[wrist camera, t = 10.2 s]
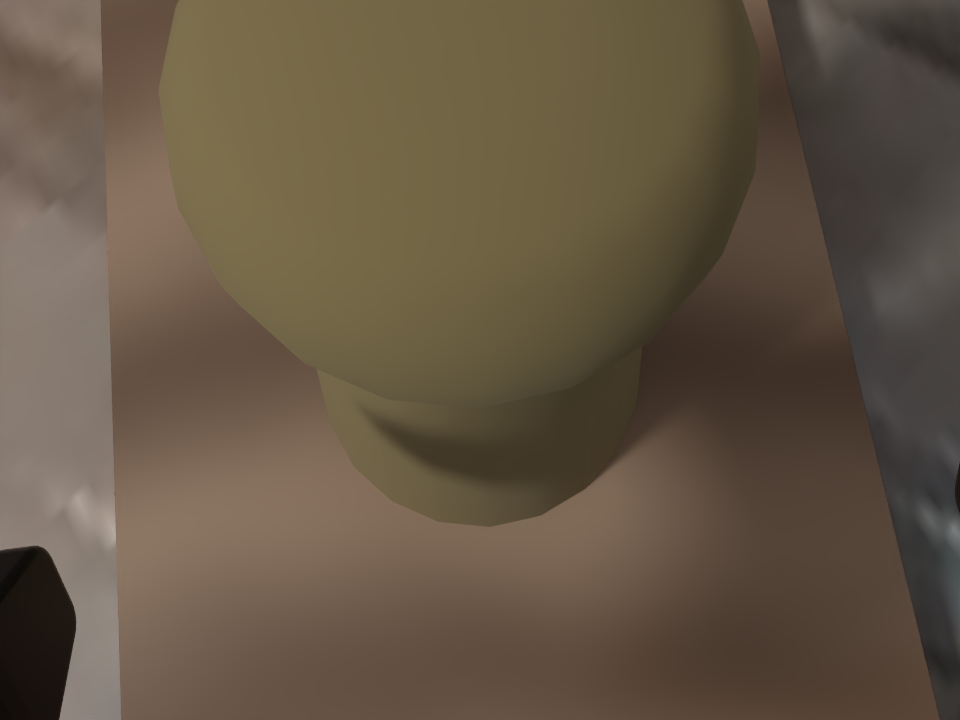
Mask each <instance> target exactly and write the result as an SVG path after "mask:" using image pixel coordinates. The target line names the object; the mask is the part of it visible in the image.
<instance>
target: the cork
mask: <svg viewBox="0 0 960 720" xmlns="http://www.w3.org/2000/svg"><path fill="white" fill-rule="evenodd" d="M759 69H760V51H759V48H758V45H757V42H756V39H755V36H754V33H753V30H752V27H751V24H750V21H749V18H748V15H747V12H746V9H745V6H744V3H743V0H178V3H177V5H176V7H175V12H174V17H173V21H172V26H171V31H170V36H169V41H168V46H167V50H166V55H165V60H164V65H163V70H162V75H161V79H160V84H159V89H158V91H159V98H160V105H161V112H162V119H163V125H164V132H165V139H166V146H167V153H168V160H169V166H170V173H171V178H172V182H173V187H174V191H175V196H176V200H177V205H178V208H179V210H180V212H181V214H182V216H183V218H184V219H185V221H186V223H187V225H188V227H189V229H190V231H191V232H192V234H193V236H194V238H195V240H196V242H197V243H198V245H199V247H200V249H201V251H202V253H203V255H204V256H205V258H206V260H207V262H208V264H209V266H210V267H211V269H212V271H213V273H214V275H215V277H216V278H217V280H218V282H219V284H220V286H221V287H222V288H223V289H224V290H225V291H226V292H227V293H228V294H229V295H230V296H231V297H232V298H233V299H234V300H235V301H236V302H237V303H238V304H239V305H240V306H241V307H242V308H243V309H244V310H245V311H246V312H248V313H249V314H250V315H251V316H252V317H253V318H254V319H255V320H257V321H258V322H259V323H260V324H261V325H262V326H263V327H264V328H265V329H267V330H268V331H269V332H270V333H271V334H272V335H273V336H274V337H275V338H277V339H278V340H279V341H280V342H281V343H282V344H283V345H284V346H285V347H287V348H288V349H289V350H290V351H291V352H292V353H293V354H294V355H295V356H297V357H298V358H299V359H300V360H301V361H302V362H303V363H304V364H306V365H309V366H311V367H313V368H316V369H317V373H318V377H319V381H320V385H321V389H322V393H323V397H324V401H325V405H326V409H327V413H328V417H329V421H330V424H331V426H332V428H333V430H334V431H335V433H336V435H337V437H338V439H339V440H340V442H341V444H342V446H343V448H344V449H345V451H346V453H347V455H348V457H349V459H350V460H351V462H352V464H353V466H354V467H355V468H356V469H357V470H358V471H359V472H360V473H361V474H362V475H364V476H365V477H366V478H367V479H368V480H369V481H370V482H371V483H372V484H373V485H374V486H376V487H377V488H378V489H379V490H380V491H381V492H382V493H383V494H384V495H385V496H386V497H388V498H389V499H390V500H391V501H392V502H395V503H397V504H399V505H401V506H404V507H406V508H408V509H410V510H413V511H415V512H417V513H419V514H422V515H424V516H426V517H428V518H431V519H433V520H435V521H438V522H444V523H454V524H465V525H475V526H485V527H492V526H497V525H501V524H506V523H510V522H515V521H519V520H524V519H528V518H533V517H537V516H541V515H543V514H544V513H546V512H548V511H549V510H551V509H553V508H554V507H556V506H558V505H559V504H561V503H563V502H564V501H566V500H568V499H569V498H571V497H573V496H574V495H576V494H578V493H579V492H581V491H583V490H584V489H586V487H587V486H588V485H589V484H590V483H591V482H592V480H593V479H594V478H595V477H596V476H597V475H598V473H599V472H600V471H601V470H602V469H603V468H604V466H605V465H606V464H607V463H608V462H609V461H610V459H611V458H612V457H613V456H614V455H615V454H616V452H617V451H618V449H619V447H620V444H621V442H622V439H623V437H624V434H625V432H626V429H627V427H628V424H629V422H630V419H631V417H632V414H633V412H634V410H635V407H636V404H637V395H638V385H639V375H640V365H641V355H642V346H644V345H646V344H647V343H649V342H650V341H651V340H652V338H653V337H654V336H655V335H656V334H657V333H658V332H659V330H660V329H661V328H662V327H663V326H664V325H665V323H666V322H667V321H668V320H669V319H670V318H671V317H672V315H673V314H674V313H675V312H676V311H677V310H678V309H679V307H680V306H681V305H682V304H683V303H684V302H685V301H686V299H687V298H688V297H689V296H690V295H691V294H692V293H693V291H694V290H695V289H696V288H697V287H698V286H699V284H700V283H701V282H702V281H703V280H704V279H705V278H706V276H707V275H708V274H709V272H710V271H711V269H712V268H713V267H714V265H715V264H716V263H717V261H718V260H719V259H720V257H721V256H722V254H723V252H724V250H725V247H726V244H727V242H728V239H729V237H730V234H731V232H732V229H733V227H734V224H735V222H736V219H737V217H738V214H739V212H740V209H741V206H742V204H743V201H744V199H745V196H746V194H747V191H748V189H749V186H750V184H751V181H752V179H753V176H754V174H755V167H756V154H757V141H758V109H759Z"/></svg>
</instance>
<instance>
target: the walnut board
mask: <svg viewBox="0 0 960 720" xmlns="http://www.w3.org/2000/svg"><path fill="white" fill-rule="evenodd" d="M177 3H178V0H101V29H102V64H103V99H104V133H105V168H106V202H107V237H108V272H109V306H110V341H111V375H112V410H113V445H114V479H115V514H116V548H117V583H118V618H119V652H120V687H121V720H940V718H939V714H938V710H937V706H936V701H935V697H934V693H933V689H932V685H931V681H930V676H929V672H928V668H927V664H926V660H925V656H924V651H923V647H922V643H921V639H920V635H919V631H918V626H917V622H916V618H915V614H914V610H913V606H912V601H911V597H910V593H909V589H908V585H907V581H906V576H905V572H904V568H903V564H902V560H901V556H900V551H899V547H898V543H897V539H896V535H895V531H894V526H893V522H892V518H891V514H890V510H889V506H888V501H887V497H886V493H885V489H884V485H883V481H882V476H881V472H880V468H879V464H878V460H877V456H876V451H875V447H874V443H873V439H872V435H871V431H870V426H869V422H868V418H867V414H866V410H865V406H864V401H863V397H862V393H861V389H860V385H859V381H858V376H857V372H856V368H855V364H854V360H853V356H852V351H851V347H850V343H849V339H848V335H847V331H846V326H845V322H844V318H843V314H842V310H841V306H840V301H839V297H838V293H837V289H836V285H835V281H834V276H833V272H832V268H831V264H830V260H829V256H828V251H827V247H826V243H825V239H824V235H823V231H822V226H821V222H820V218H819V214H818V210H817V206H816V201H815V197H814V193H813V189H812V185H811V181H810V176H809V172H808V168H807V164H806V160H805V156H804V151H803V147H802V143H801V139H800V135H799V131H798V126H797V122H796V118H795V114H794V110H793V106H792V101H791V97H790V93H789V89H788V85H787V81H786V76H785V72H784V68H783V64H782V60H781V56H780V51H779V47H778V43H777V39H776V35H775V31H774V26H773V22H772V18H771V14H770V10H769V6H768V1H767V0H743V3H744V6H745V9H746V12H747V15H748V18H749V21H750V24H751V27H752V30H753V33H754V36H755V39H756V42H757V45H758V48H759V51H760V69H759V109H758V141H757V154H756V167H755V174H754V176H753V179H752V181H751V184H750V186H749V189H748V191H747V194H746V196H745V199H744V201H743V204H742V206H741V209H740V212H739V214H738V217H737V219H736V222H735V224H734V227H733V229H732V232H731V234H730V237H729V239H728V242H727V244H726V247H725V250H724V252H723V254H722V256H721V257H720V259H719V260H718V261H717V263H716V264H715V265H714V267H713V268H712V269H711V271H710V272H709V274H708V275H707V276H706V278H705V279H704V280H703V281H702V282H701V283H700V284H699V286H698V287H697V288H696V289H695V290H694V291H693V293H692V294H691V295H690V296H689V297H688V298H687V299H686V301H685V302H684V303H683V304H682V305H681V306H680V307H679V309H678V310H677V311H676V312H675V313H674V314H673V315H672V317H671V318H670V319H669V320H668V321H667V322H666V323H665V325H664V326H663V327H662V328H661V329H660V330H659V332H658V333H657V334H656V335H655V336H654V337H653V338H652V340H651V341H650V342H649V343H647V344H646V345H644V346H642V355H641V365H640V375H639V385H638V395H637V404H636V407H635V410H634V412H633V414H632V417H631V419H630V422H629V424H628V427H627V429H626V432H625V434H624V437H623V439H622V442H621V444H620V447H619V449H618V451H617V452H616V454H615V455H614V456H613V457H612V458H611V459H610V461H609V462H608V463H607V464H606V465H605V466H604V468H603V469H602V470H601V471H600V472H599V473H598V475H597V476H596V477H595V478H594V479H593V480H592V482H591V483H590V484H589V485H588V486H587V487H586V489H584V490H583V491H581V492H579V493H578V494H576V495H574V496H573V497H571V498H569V499H568V500H566V501H564V502H563V503H561V504H559V505H558V506H556V507H554V508H553V509H551V510H549V511H548V512H546V513H544V514H543V515H541V516H537V517H533V518H528V519H524V520H519V521H515V522H510V523H506V524H501V525H497V526H492V527H485V526H475V525H465V524H454V523H444V522H438V521H435V520H433V519H431V518H428V517H426V516H424V515H422V514H419V513H417V512H415V511H413V510H410V509H408V508H406V507H404V506H401V505H399V504H397V503H395V502H392V501H391V500H390V499H389V498H388V497H386V496H385V495H384V494H383V493H382V492H381V491H380V490H379V489H378V488H377V487H376V486H374V485H373V484H372V483H371V482H370V481H369V480H368V479H367V478H366V477H365V476H364V475H362V474H361V473H360V472H359V471H358V470H357V469H356V468H355V467H354V466H353V464H352V462H351V460H350V459H349V457H348V455H347V453H346V451H345V449H344V448H343V446H342V444H341V442H340V440H339V439H338V437H337V435H336V433H335V431H334V430H333V428H332V426H331V424H330V421H329V417H328V413H327V409H326V405H325V401H324V397H323V393H322V389H321V385H320V381H319V377H318V373H317V369H316V368H313V367H311V366H309V365H306V364H304V363H303V362H302V361H301V360H300V359H299V358H298V357H297V356H295V355H294V354H293V353H292V352H291V351H290V350H289V349H288V348H287V347H285V346H284V345H283V344H282V343H281V342H280V341H279V340H278V339H277V338H275V337H274V336H273V335H272V334H271V333H270V332H269V331H268V330H267V329H265V328H264V327H263V326H262V325H261V324H260V323H259V322H258V321H257V320H255V319H254V318H253V317H252V316H251V315H250V314H249V313H248V312H246V311H245V310H244V309H243V308H242V307H241V306H240V305H239V304H238V303H237V302H236V301H235V300H234V299H233V298H232V297H231V296H230V295H229V294H228V293H227V292H226V291H225V290H224V289H223V288H222V287H221V286H220V284H219V282H218V280H217V278H216V277H215V275H214V273H213V271H212V269H211V267H210V266H209V264H208V262H207V260H206V258H205V256H204V255H203V253H202V251H201V249H200V247H199V245H198V243H197V242H196V240H195V238H194V236H193V234H192V232H191V231H190V229H189V227H188V225H187V223H186V221H185V219H184V218H183V216H182V214H181V212H180V210H179V208H178V205H177V200H176V196H175V191H174V187H173V182H172V178H171V173H170V166H169V160H168V153H167V146H166V139H165V132H164V125H163V119H162V112H161V105H160V98H159V91H158V89H159V84H160V79H161V75H162V70H163V65H164V60H165V55H166V50H167V46H168V41H169V36H170V31H171V26H172V21H173V17H174V12H175V7H176V5H177Z"/></svg>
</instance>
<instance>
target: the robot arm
mask: <svg viewBox="0 0 960 720" xmlns="http://www.w3.org/2000/svg"><path fill="white" fill-rule="evenodd" d="M955 498H956V503H957V507H958V510H959V512H960V464H959V469H958V474H957V479H956V484H955ZM75 632H76V614H75V610H74V606H73V604H72V601H71V599H70V597H69V595H68V593H67V590H66V588H65V586H64V584H63V582H62V579H61V577H60V575H59V573H58V571H57V568H56V566H55V564H54V562H53V560H52V558H51V556H50V554H49V553H48V552H47V551H46V550H45V549H44V548H42V547H39V546H28V547H21V548H13V549H6V550H1V551H0V720H59V717H60V712H61V707H62V701H63V696H64V691H65V686H66V680H67V675H68V670H69V664H70V659H71V654H72V648H73V643H74V638H75Z"/></svg>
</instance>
